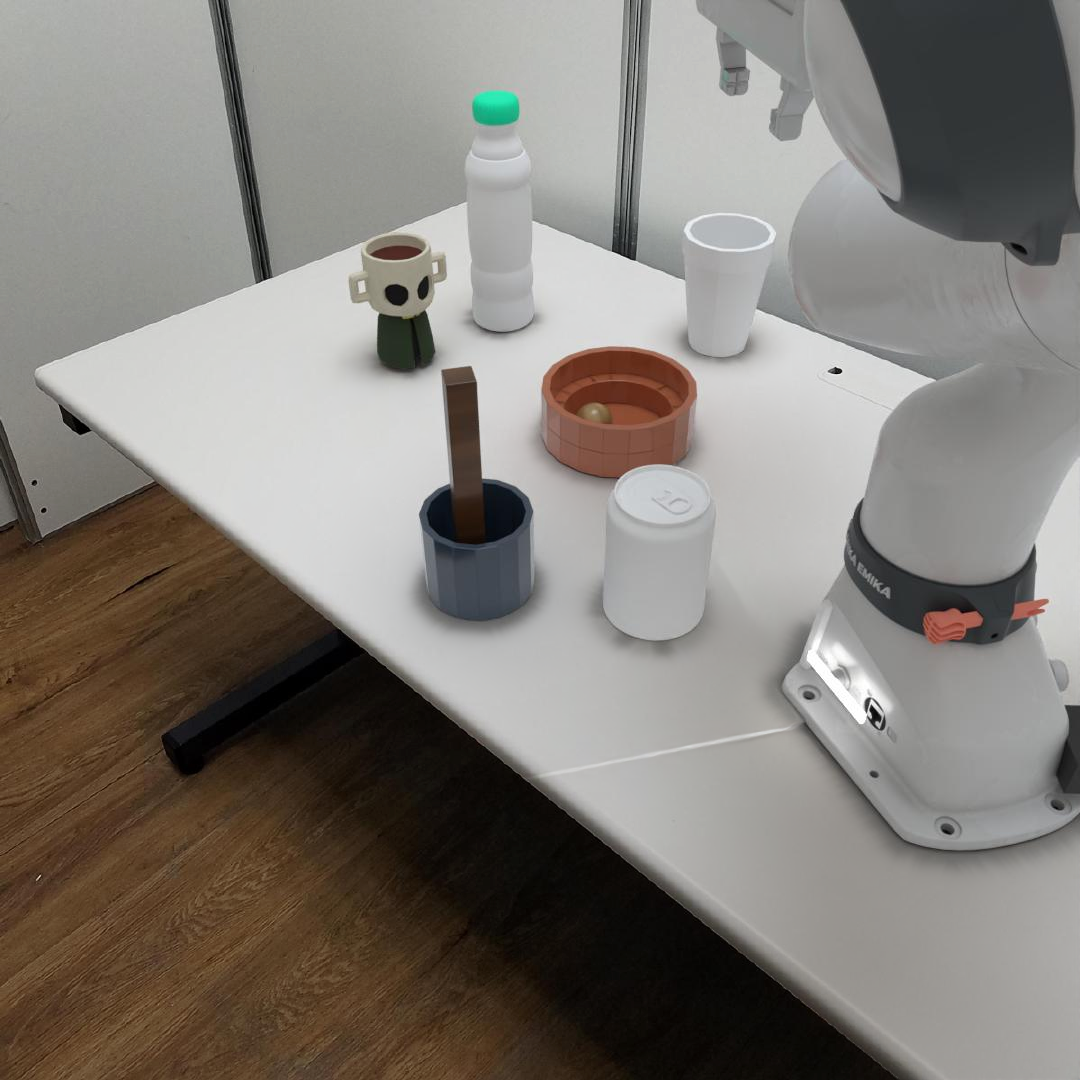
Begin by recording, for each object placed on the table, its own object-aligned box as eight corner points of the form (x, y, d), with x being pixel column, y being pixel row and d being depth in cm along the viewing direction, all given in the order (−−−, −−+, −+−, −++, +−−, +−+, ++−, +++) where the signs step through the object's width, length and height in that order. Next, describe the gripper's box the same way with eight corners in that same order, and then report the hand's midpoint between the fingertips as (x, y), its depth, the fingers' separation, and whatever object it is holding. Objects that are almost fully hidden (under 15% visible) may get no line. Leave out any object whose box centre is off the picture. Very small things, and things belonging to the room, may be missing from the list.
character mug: (373, 387, 112) (359, 272, 104) (348, 357, 117) (332, 245, 108) (466, 359, 116) (459, 247, 108) (437, 331, 121) (429, 222, 112)
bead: (621, 415, 101) (586, 413, 100) (612, 447, 103) (577, 446, 102) (609, 396, 103) (575, 395, 102) (601, 428, 105) (567, 427, 104)
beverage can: (647, 563, 90) (656, 447, 83) (723, 610, 86) (740, 492, 78) (581, 610, 86) (584, 492, 78) (658, 662, 82) (669, 543, 74)
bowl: (712, 470, 100) (719, 417, 96) (562, 493, 98) (563, 439, 94) (664, 389, 111) (668, 338, 107) (527, 407, 109) (527, 356, 105)
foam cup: (758, 323, 121) (773, 214, 113) (762, 366, 114) (779, 253, 106) (674, 320, 122) (683, 211, 114) (674, 362, 115) (683, 249, 107)
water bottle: (533, 334, 120) (530, 107, 104) (470, 334, 120) (457, 107, 104) (534, 304, 125) (531, 83, 109) (474, 304, 126) (462, 84, 109)
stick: (488, 590, 87) (476, 381, 74) (461, 595, 87) (445, 385, 74) (483, 573, 89) (471, 365, 76) (457, 577, 89) (440, 369, 76)
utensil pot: (544, 614, 86) (543, 538, 81) (436, 632, 84) (428, 557, 79) (521, 545, 92) (519, 471, 87) (420, 561, 91) (412, 486, 86)
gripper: (682, -128, 76) (669, 73, 85) (804, -66, 61) (773, 170, 70) (764, -134, 77) (742, 66, 86) (904, -73, 62) (860, 160, 71)
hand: (757, 113), depth 78 cm, fingers open, 8 cm apart
